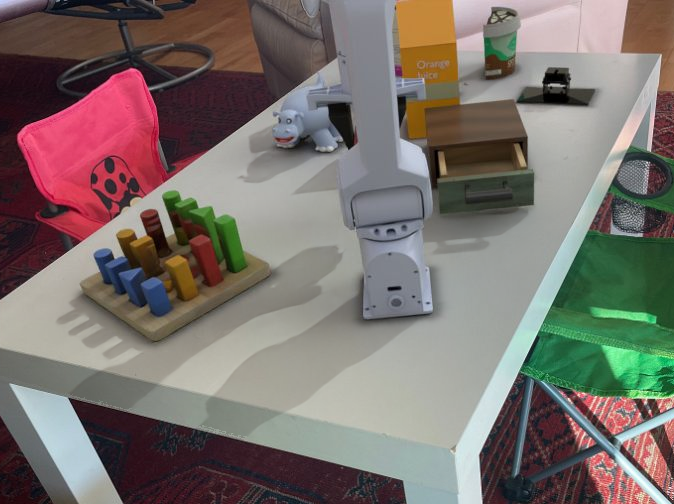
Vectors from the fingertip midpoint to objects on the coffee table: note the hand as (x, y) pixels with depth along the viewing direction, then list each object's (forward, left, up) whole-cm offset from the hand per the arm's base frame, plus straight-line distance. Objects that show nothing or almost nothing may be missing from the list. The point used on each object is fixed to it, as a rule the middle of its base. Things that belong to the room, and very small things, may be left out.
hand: (374, 157), depth 97 cm
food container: (+54, -24, -9) cm, 60 cm away
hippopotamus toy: (+28, +12, -9) cm, 32 cm away
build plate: (+38, -31, -9) cm, 50 cm away
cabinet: (+15, -14, -9) cm, 23 cm away
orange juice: (+30, -9, -9) cm, 33 cm away
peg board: (-11, +26, -9) cm, 30 cm away
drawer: (+3, -14, -8) cm, 17 cm away
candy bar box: (+44, -8, -9) cm, 46 cm away
